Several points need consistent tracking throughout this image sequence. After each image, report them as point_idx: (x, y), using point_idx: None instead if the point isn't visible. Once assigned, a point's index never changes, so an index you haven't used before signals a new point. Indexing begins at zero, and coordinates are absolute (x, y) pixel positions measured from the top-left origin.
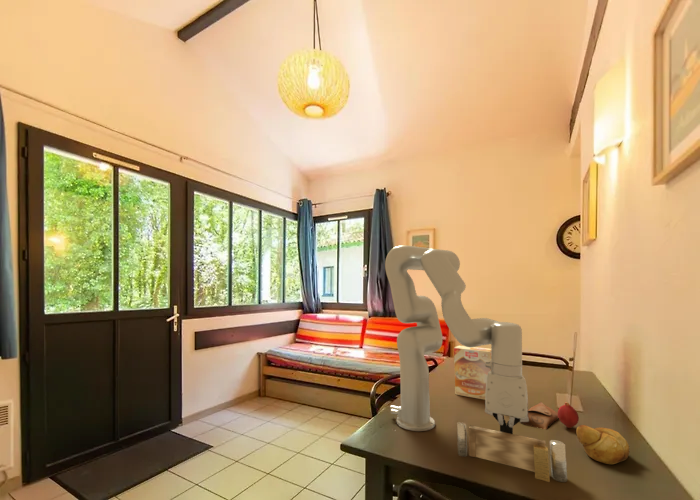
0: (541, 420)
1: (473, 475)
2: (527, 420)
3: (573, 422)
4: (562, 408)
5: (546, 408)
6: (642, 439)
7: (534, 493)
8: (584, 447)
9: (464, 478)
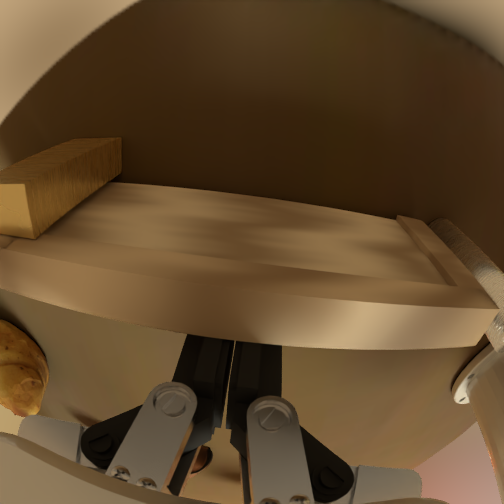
0: None
1: (410, 54)
2: (32, 424)
3: None
4: None
5: None
6: None
7: (132, 9)
8: (33, 363)
9: (440, 27)
